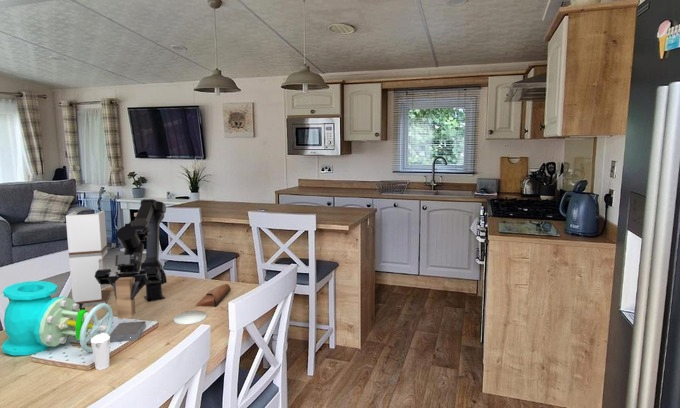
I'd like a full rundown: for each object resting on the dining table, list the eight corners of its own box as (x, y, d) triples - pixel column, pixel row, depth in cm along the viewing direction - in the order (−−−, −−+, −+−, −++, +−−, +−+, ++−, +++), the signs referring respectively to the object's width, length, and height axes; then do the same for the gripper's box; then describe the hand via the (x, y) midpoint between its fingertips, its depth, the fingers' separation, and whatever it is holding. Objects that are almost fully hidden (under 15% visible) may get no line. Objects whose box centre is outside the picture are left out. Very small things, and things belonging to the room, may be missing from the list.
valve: (29, 278, 129) (122, 291, 127) (28, 331, 131) (119, 346, 129) (-12, 293, 115) (92, 309, 113) (-13, 353, 117) (89, 369, 115)
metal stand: (119, 328, 136) (119, 323, 136) (145, 326, 138) (145, 321, 138) (109, 342, 127) (108, 336, 126) (137, 340, 128) (136, 333, 128)
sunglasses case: (210, 290, 174) (218, 277, 173) (225, 299, 174) (232, 286, 173) (194, 306, 156) (203, 292, 155) (211, 316, 156) (219, 301, 155)
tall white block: (105, 304, 159) (98, 214, 154) (73, 307, 155) (65, 215, 151) (110, 294, 169) (104, 210, 165) (80, 297, 166) (73, 211, 162)
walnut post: (122, 313, 133) (119, 277, 131) (135, 312, 134) (133, 277, 132) (118, 318, 129) (115, 281, 128) (131, 317, 130) (129, 280, 128)
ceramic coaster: (169, 317, 146) (169, 315, 146) (200, 309, 153) (200, 308, 153) (178, 327, 137) (178, 325, 137) (211, 319, 144) (211, 317, 144)
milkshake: (94, 363, 114) (92, 328, 113) (115, 362, 114) (112, 328, 113) (86, 371, 110) (83, 336, 108) (107, 370, 110) (104, 335, 109)
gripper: (94, 245, 131) (82, 290, 121) (157, 242, 134) (150, 286, 125) (105, 262, 139) (95, 305, 130) (163, 259, 143) (158, 301, 133)
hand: (124, 299), depth 129 cm, fingers closed on walnut post, 4 cm apart
